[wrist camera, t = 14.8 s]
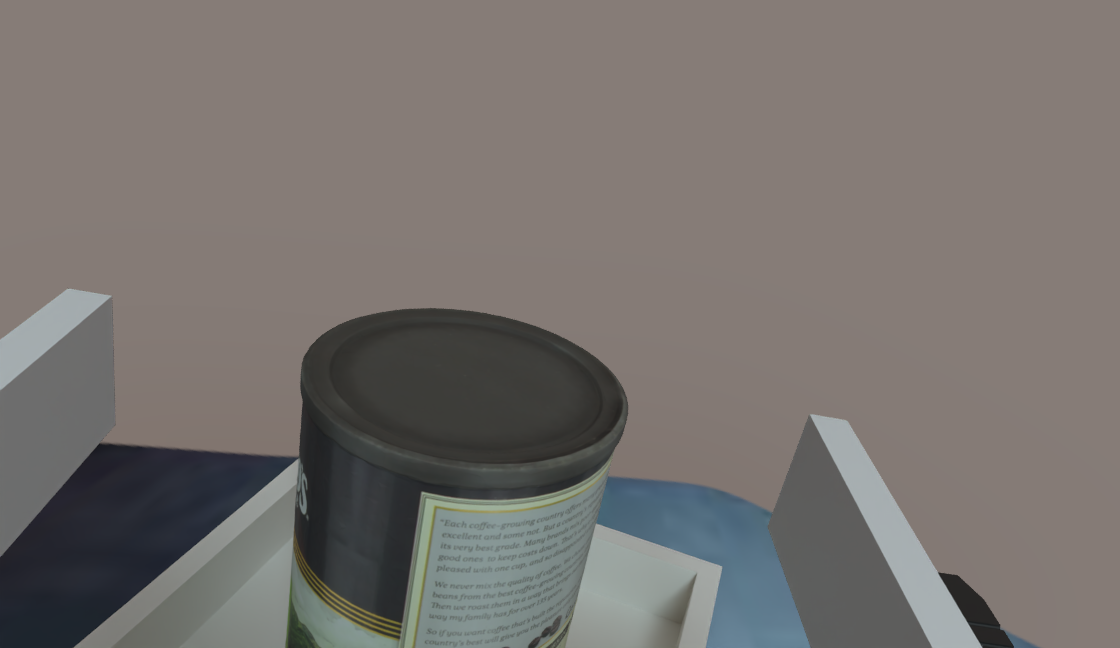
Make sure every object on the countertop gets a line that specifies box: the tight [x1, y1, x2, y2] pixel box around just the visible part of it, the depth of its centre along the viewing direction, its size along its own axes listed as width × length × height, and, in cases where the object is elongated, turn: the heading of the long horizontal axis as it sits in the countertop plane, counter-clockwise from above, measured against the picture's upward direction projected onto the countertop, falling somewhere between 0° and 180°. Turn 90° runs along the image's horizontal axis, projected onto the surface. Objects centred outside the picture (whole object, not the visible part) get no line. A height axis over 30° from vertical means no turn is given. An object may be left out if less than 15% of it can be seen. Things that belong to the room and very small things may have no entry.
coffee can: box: [285, 308, 628, 648], centre depth 30 cm, size 10×10×14 cm
